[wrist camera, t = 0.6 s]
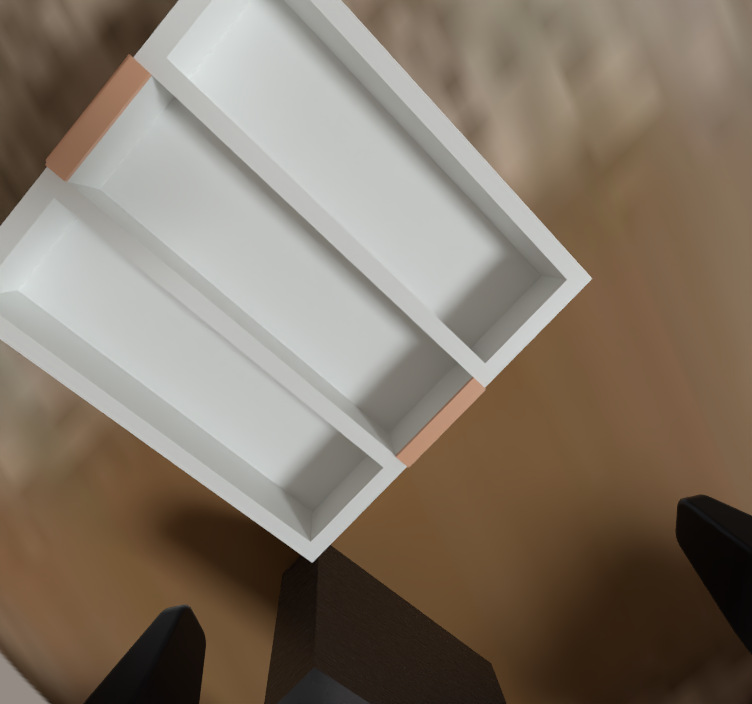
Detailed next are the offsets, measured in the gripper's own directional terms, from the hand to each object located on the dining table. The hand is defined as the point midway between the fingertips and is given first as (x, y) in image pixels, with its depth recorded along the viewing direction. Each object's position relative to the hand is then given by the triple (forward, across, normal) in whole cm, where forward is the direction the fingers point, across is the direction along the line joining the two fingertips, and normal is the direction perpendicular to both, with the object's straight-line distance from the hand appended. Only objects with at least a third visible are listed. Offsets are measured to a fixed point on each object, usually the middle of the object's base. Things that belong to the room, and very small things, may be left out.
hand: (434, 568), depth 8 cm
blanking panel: (+12, +3, +18) cm, 22 cm away
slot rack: (+15, +4, -2) cm, 16 cm away
